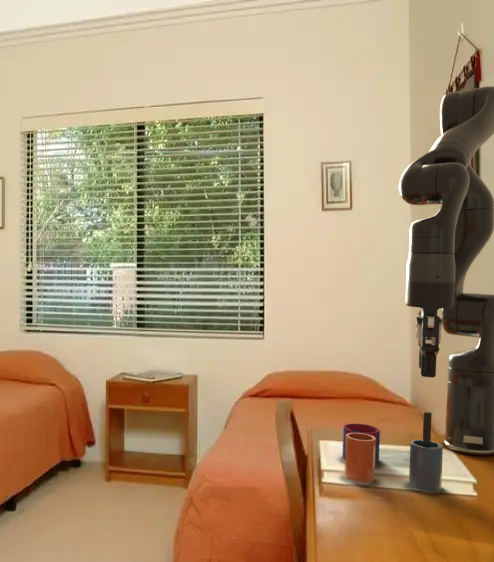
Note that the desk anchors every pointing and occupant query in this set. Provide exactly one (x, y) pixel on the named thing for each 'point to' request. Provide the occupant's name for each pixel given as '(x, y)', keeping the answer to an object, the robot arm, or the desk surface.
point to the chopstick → (426, 429)
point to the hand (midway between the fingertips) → (426, 372)
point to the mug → (366, 430)
